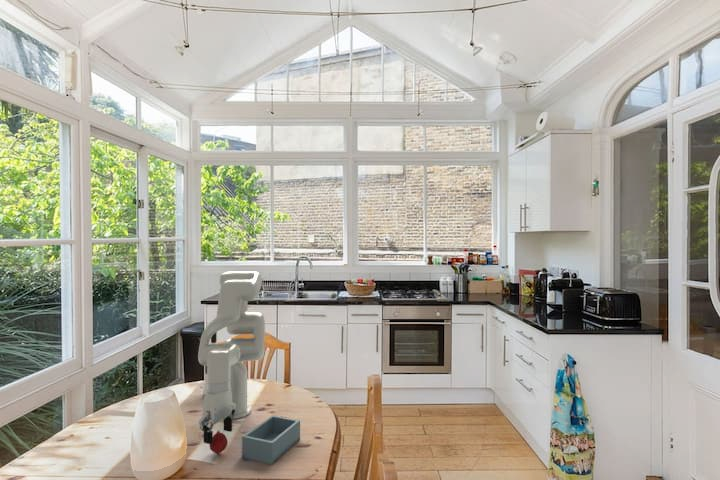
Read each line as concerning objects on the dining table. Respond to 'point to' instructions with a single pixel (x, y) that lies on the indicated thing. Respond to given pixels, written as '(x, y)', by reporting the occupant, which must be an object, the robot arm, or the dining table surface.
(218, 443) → the red round fruit
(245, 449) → the blue-grey open box
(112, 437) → the dining table surface
